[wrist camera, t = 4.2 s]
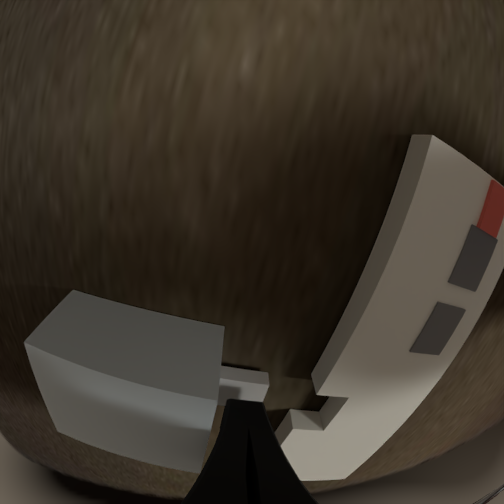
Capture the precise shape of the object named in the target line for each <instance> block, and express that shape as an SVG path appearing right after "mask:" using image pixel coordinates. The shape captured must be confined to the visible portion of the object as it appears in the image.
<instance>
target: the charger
mask: <svg viewBox="0 0 504 504" xmlns="http://www.w3.org/2000/svg"><path fill="white" fill-rule="evenodd" d="M224 329H225V326H221V325H215V324H210V323H205V322H200V321H195V320H190V319H186V318H181V317H176V316H172V315H167V314H163V313H159V312H154V311H150V310H146V309H142V308H138V307H134V306H130V305H126V304H122V303H118V302H115V301H111V300H107V299H104V298H100V297H97V296H93V295H90V294H86V293H83V292H79V291H76V290H72V291H71V292H70V293H69V294H68V295H67V296H66V297H65V298H64V299H63V300H62V301H61V302H60V303H59V304H58V305H57V306H56V308H55V309H54V310H53V311H52V312H51V313H50V314H49V315H48V316H47V317H46V318H45V319H44V320H43V321H42V322H41V323H40V325H39V326H38V327H37V328H36V329H35V330H34V331H33V332H32V333H31V334H30V336H29V337H28V338H27V339H26V340H25V341H24V344H25V348H26V351H27V355H28V358H29V361H30V364H31V367H32V370H33V373H34V376H35V379H36V381H37V384H38V387H39V389H40V392H41V394H42V397H43V399H44V402H45V404H46V407H47V409H48V411H49V413H50V416H51V418H52V420H53V422H54V424H55V426H56V429H57V431H58V432H60V433H63V434H65V435H67V436H70V437H72V438H74V439H77V440H79V441H82V442H84V443H87V444H89V445H92V446H95V447H98V448H100V449H103V450H106V451H109V452H112V453H115V454H118V455H122V456H125V457H128V458H132V459H135V460H139V461H143V462H146V463H150V464H154V465H159V466H163V467H168V468H172V469H177V470H183V471H188V472H194V473H200V471H201V467H202V463H203V459H204V455H205V451H206V447H207V443H208V439H209V435H210V431H211V427H212V423H213V419H214V415H215V411H216V407H217V405H222V406H225V405H226V400H227V399H230V398H232V399H240V400H249V401H259V402H263V400H264V397H265V395H266V392H267V390H268V387H269V376H268V372H260V371H253V370H246V369H239V368H233V367H227V366H221V360H222V350H223V339H224Z"/></svg>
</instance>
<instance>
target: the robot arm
mask: <svg viewBox="0 0 504 504" xmlns="http://www.w3.org/2000/svg"><path fill="white" fill-rule="evenodd" d="M181 504H318V503H317V501H316V500H315V499H314V498H313V497H312V495H311V494H310V493H309V492H308V490H307V489H306V487H305V486H304V485H303V483H302V482H301V480H300V479H299V477H298V476H297V474H296V473H295V471H294V470H293V468H292V466H291V465H290V463H289V461H288V459H287V457H286V456H285V454H284V452H283V450H282V448H281V446H280V444H279V442H278V440H277V438H276V435H275V433H274V431H273V428H272V426H271V423H270V421H269V418H268V415H267V412H266V409H265V406H264V404H263V403H262V402H259V401H249V400H240V399H232V398H230V399H227V400H226V405H225V409H224V413H223V417H222V421H221V426H220V432H219V435H218V437H217V440H216V443H215V445H214V447H213V450H212V452H211V454H210V456H209V458H208V460H207V462H206V464H205V466H204V468H203V470H202V471H201V473H200V475H199V477H198V478H197V480H196V482H195V483H194V485H193V487H192V488H191V490H190V491H189V493H188V494H187V496H186V497H185V498H184V500H183V501H182V503H181Z"/></svg>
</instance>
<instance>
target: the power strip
mask: <svg viewBox="0 0 504 504" xmlns="http://www.w3.org/2000/svg"><path fill="white" fill-rule="evenodd" d="M503 268H504V186H502V185H501V184H500V183H499V182H498V181H496V180H495V179H494V178H493V177H491V176H490V175H489V174H488V173H486V172H485V171H484V170H482V169H481V168H480V167H479V166H477V165H476V164H475V163H473V162H472V161H470V160H469V159H468V158H466V157H465V156H463V155H462V154H461V153H459V152H458V151H456V150H455V149H453V148H452V147H450V146H449V145H447V144H446V143H444V142H443V141H441V140H440V139H438V138H436V137H435V136H433V135H412V136H411V140H410V144H409V147H408V150H407V154H406V157H405V160H404V164H403V167H402V170H401V173H400V176H399V179H398V182H397V185H396V188H395V191H394V194H393V197H392V200H391V202H390V205H389V208H388V211H387V213H386V216H385V219H384V221H383V224H382V227H381V229H380V232H379V234H378V237H377V239H376V242H375V244H374V247H373V249H372V251H371V254H370V256H369V259H368V261H367V263H366V266H365V268H364V270H363V272H362V275H361V277H360V279H359V281H358V284H357V286H356V288H355V290H354V292H353V294H352V297H351V299H350V301H349V303H348V305H347V307H346V309H345V311H344V313H343V315H342V317H341V319H340V321H339V323H338V325H337V327H336V329H335V331H334V333H333V335H332V337H331V339H330V341H329V342H328V344H327V346H326V348H325V350H324V352H323V354H322V355H321V357H320V359H319V361H318V363H317V364H316V366H315V368H314V370H313V372H312V373H311V376H312V380H313V384H314V388H315V392H316V395H322V396H330V397H329V398H328V400H327V401H326V402H325V404H324V405H323V407H322V408H321V410H320V411H319V412H317V411H305V410H295V409H290V410H289V411H288V413H287V414H286V416H285V418H284V419H283V421H282V422H281V424H280V425H279V427H278V428H277V430H276V431H275V435H276V438H277V440H278V442H279V444H280V446H281V448H282V450H283V452H284V454H285V456H286V457H287V459H288V461H289V463H290V465H291V466H292V468H293V470H294V471H295V473H296V474H297V476H298V477H299V479H300V480H301V481H312V480H335V479H345V478H346V477H347V476H349V475H350V474H351V473H352V472H353V471H354V470H356V469H357V468H358V467H359V466H360V465H361V464H362V463H364V462H365V461H366V460H367V459H368V458H369V457H370V456H371V455H372V454H373V453H374V452H376V451H377V450H378V449H379V448H380V447H381V446H382V445H383V444H384V443H385V442H386V441H387V440H388V439H389V438H390V437H391V436H392V435H393V434H394V433H395V431H396V430H397V429H398V428H399V427H400V426H401V425H402V424H403V423H404V422H405V421H406V420H407V418H408V417H409V416H410V415H411V414H412V413H413V412H414V410H415V409H416V408H417V407H418V406H419V404H420V403H421V402H422V401H423V400H424V398H425V397H426V396H427V395H428V393H429V392H430V391H431V390H432V388H433V387H434V386H435V384H436V383H437V382H438V380H439V379H440V378H441V376H442V375H443V374H444V372H445V371H446V369H447V368H448V367H449V365H450V364H451V362H452V361H453V359H454V358H455V356H456V355H457V353H458V352H459V350H460V349H461V347H462V346H463V344H464V342H465V341H466V339H467V337H468V336H469V334H470V333H471V331H472V329H473V327H474V326H475V324H476V322H477V320H478V319H479V317H480V315H481V313H482V311H483V309H484V308H485V306H486V304H487V302H488V300H489V298H490V296H491V294H492V292H493V290H494V288H495V286H496V283H497V281H498V279H499V277H500V275H501V272H502V270H503Z"/></svg>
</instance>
